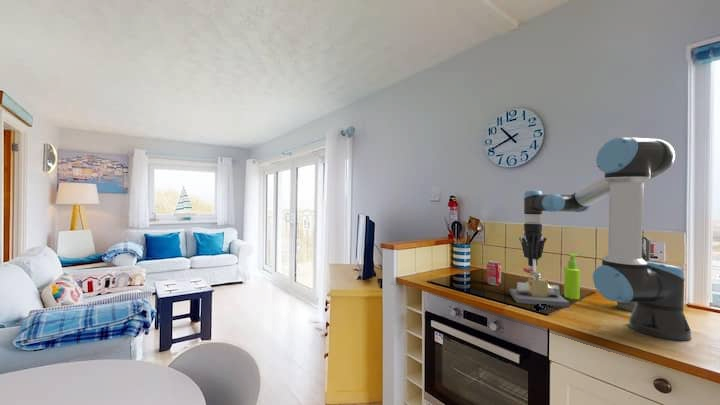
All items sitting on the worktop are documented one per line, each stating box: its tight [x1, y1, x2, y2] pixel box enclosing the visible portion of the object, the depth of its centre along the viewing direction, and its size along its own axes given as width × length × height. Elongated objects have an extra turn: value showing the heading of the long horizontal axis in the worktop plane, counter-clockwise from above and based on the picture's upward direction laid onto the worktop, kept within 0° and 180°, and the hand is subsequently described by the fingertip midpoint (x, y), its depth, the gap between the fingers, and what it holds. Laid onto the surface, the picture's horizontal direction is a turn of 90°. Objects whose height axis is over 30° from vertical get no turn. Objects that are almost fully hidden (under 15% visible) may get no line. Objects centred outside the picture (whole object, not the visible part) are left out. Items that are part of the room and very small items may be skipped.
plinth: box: [509, 288, 571, 308], centre depth 140 cm, size 16×20×2 cm
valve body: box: [516, 277, 561, 298], centre depth 140 cm, size 6×16×8 cm, turn 75°
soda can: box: [486, 260, 502, 286], centre depth 166 cm, size 7×7×12 cm
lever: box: [523, 267, 542, 278], centre depth 145 cm, size 13×3×2 cm, turn 175°
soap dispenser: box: [563, 253, 583, 300], centre depth 144 cm, size 6×7×20 cm
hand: (532, 272), depth 149 cm, fingers closed
